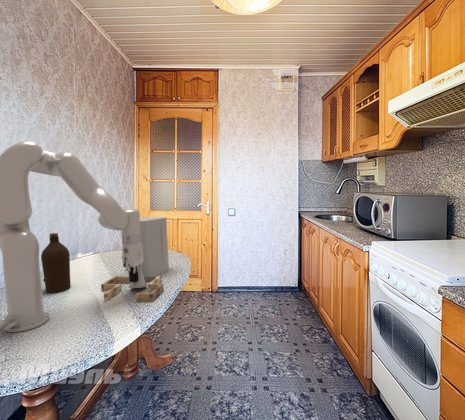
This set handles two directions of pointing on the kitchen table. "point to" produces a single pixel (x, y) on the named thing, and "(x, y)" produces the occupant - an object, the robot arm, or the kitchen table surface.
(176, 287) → the kitchen table surface
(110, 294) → the zigzag wooden frame
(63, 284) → the olive oil
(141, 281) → the flask
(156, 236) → the paper bag
